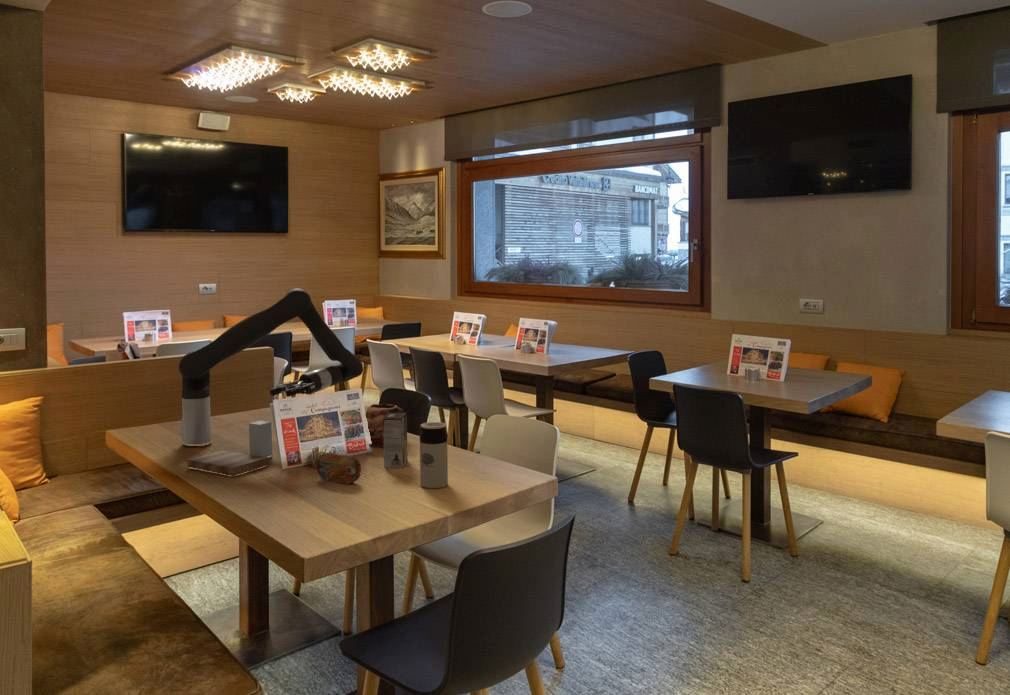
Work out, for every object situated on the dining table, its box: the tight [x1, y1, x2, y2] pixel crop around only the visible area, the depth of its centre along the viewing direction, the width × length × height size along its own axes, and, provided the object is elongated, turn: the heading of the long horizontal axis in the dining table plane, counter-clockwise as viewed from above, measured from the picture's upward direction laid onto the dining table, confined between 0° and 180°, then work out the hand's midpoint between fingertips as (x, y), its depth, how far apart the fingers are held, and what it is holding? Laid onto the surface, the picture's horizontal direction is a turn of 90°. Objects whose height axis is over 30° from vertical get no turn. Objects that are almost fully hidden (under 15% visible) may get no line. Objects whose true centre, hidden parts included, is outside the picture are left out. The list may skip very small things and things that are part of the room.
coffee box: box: [383, 412, 408, 469], centre depth 249 cm, size 9×6×16 cm
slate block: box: [248, 420, 273, 457], centre depth 257 cm, size 5×5×12 cm
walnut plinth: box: [187, 450, 269, 476], centre depth 245 cm, size 20×14×3 cm
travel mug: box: [419, 421, 449, 490], centre depth 225 cm, size 8×8×18 cm
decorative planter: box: [365, 403, 405, 448], centre depth 277 cm, size 20×12×14 cm, turn 152°
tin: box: [316, 452, 362, 485], centre depth 229 cm, size 15×3×8 cm, turn 62°
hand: (278, 393), depth 262 cm, fingers open, 8 cm apart
